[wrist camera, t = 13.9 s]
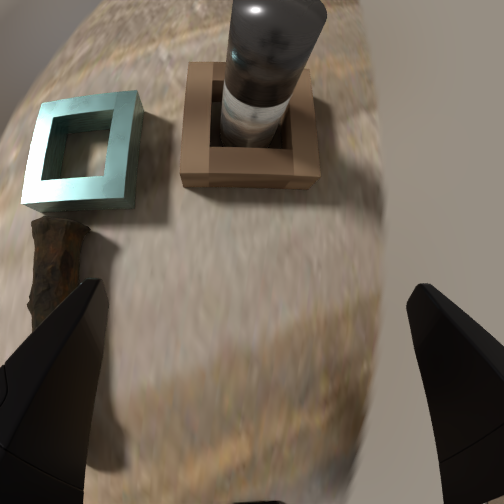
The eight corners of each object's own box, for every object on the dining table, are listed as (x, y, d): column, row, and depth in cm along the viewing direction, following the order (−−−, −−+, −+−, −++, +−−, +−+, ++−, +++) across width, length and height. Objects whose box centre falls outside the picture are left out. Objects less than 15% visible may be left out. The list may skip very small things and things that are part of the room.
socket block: (134, 208, 21) (123, 197, 18) (40, 212, 20) (21, 203, 17) (144, 110, 22) (137, 90, 19) (56, 120, 21) (41, 103, 18)
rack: (307, 189, 23) (320, 176, 20) (183, 187, 22) (179, 173, 19) (299, 89, 24) (309, 69, 21) (190, 84, 23) (188, 62, 20)
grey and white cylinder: (261, 164, 23) (314, 47, 10) (211, 145, 23) (217, 14, 10) (279, 122, 23) (335, 0, 11) (231, 104, 23) (253, -28, 10)
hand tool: (51, 222, 21) (20, 209, 16) (96, 226, 21) (70, 213, 17) (51, 447, 19) (27, 471, 14) (92, 460, 19) (73, 488, 15)
